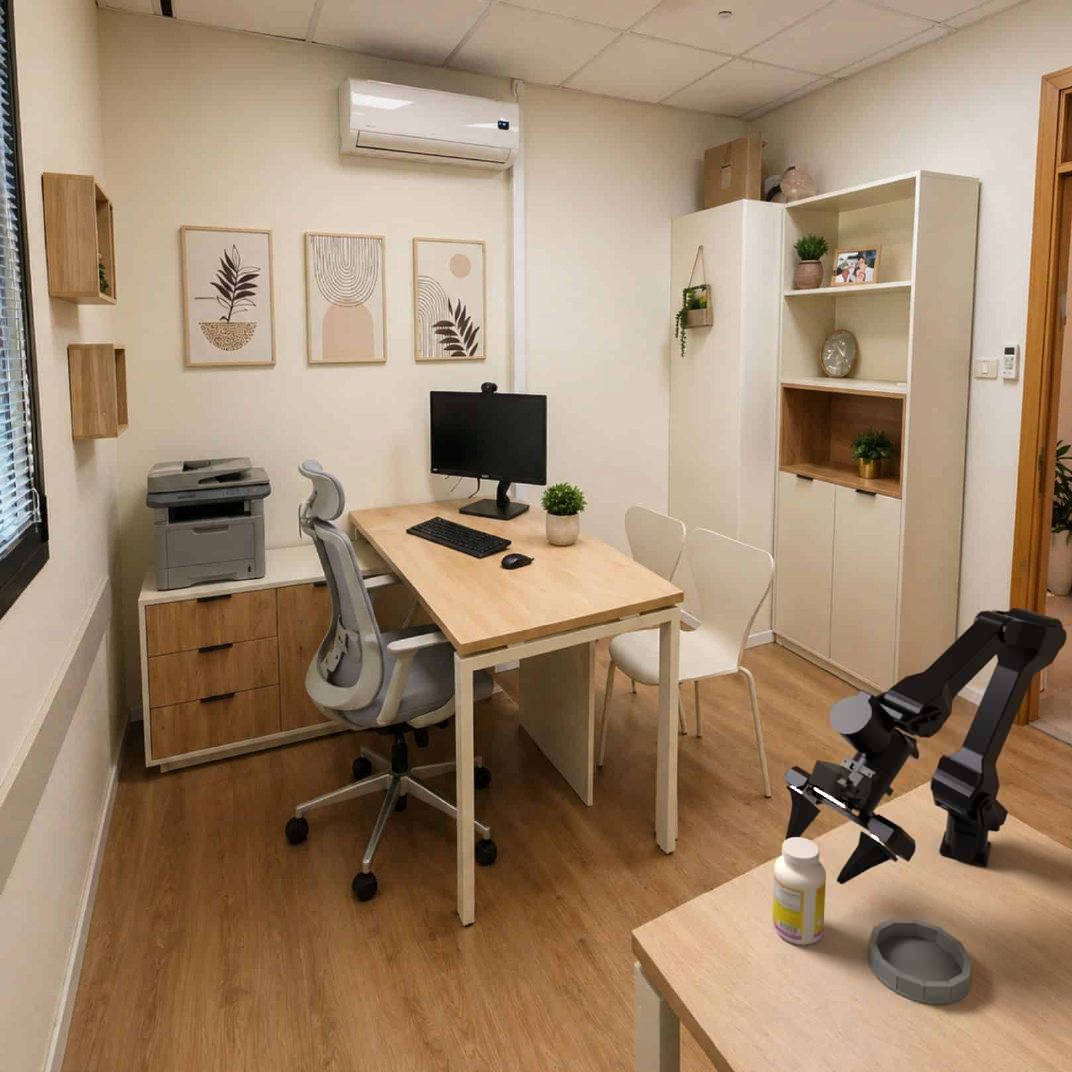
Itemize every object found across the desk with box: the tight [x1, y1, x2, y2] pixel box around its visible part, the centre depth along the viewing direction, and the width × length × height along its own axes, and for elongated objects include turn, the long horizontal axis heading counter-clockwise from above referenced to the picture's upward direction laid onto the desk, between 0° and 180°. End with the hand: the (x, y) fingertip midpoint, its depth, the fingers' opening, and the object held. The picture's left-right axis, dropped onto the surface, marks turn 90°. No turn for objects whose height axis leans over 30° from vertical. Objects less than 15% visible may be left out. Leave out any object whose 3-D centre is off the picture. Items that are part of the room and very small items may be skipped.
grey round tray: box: [866, 918, 973, 1006], centre depth 104 cm, size 12×12×2 cm
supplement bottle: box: [772, 836, 827, 945], centre depth 111 cm, size 7×7×13 cm
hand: (811, 863), depth 111 cm, fingers open, 9 cm apart
